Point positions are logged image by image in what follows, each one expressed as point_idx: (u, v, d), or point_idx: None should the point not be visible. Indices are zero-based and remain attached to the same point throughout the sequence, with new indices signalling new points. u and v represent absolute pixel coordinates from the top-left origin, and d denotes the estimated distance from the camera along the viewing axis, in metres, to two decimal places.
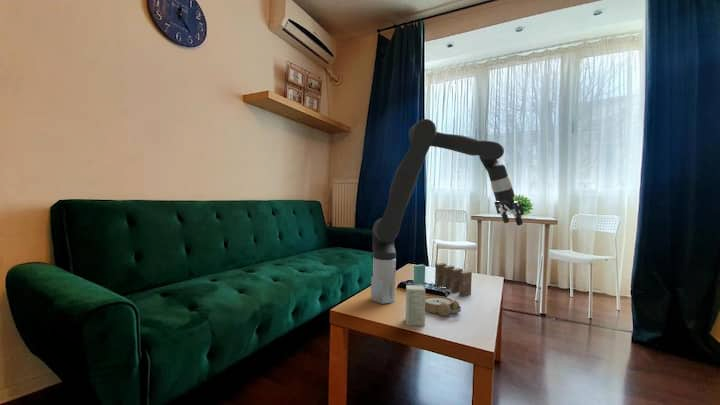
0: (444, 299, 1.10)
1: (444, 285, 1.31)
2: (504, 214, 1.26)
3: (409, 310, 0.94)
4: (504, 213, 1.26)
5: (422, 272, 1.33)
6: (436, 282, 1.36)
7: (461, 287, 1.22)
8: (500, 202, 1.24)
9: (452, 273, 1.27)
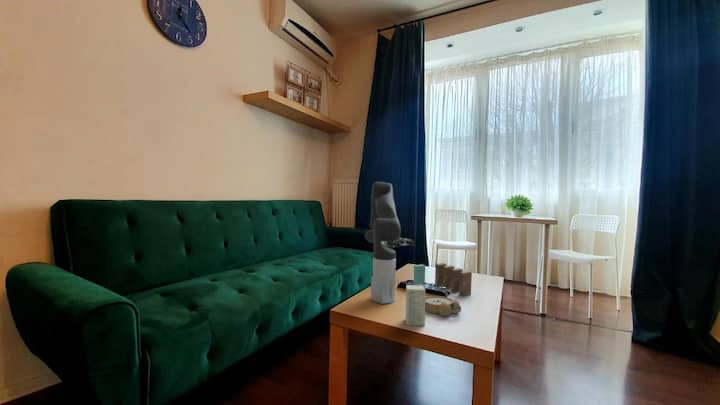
0: (444, 299, 1.10)
1: (444, 285, 1.31)
2: None
3: (409, 310, 0.94)
4: None
5: (422, 272, 1.33)
6: (436, 282, 1.36)
7: (461, 287, 1.22)
8: None
9: (452, 273, 1.27)
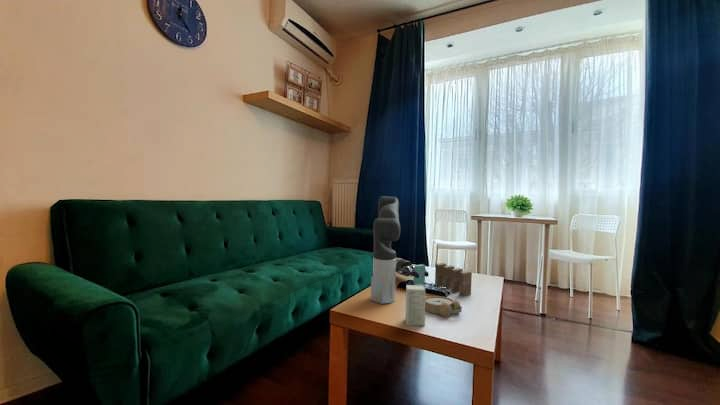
0: (445, 299, 1.10)
1: (444, 285, 1.31)
2: None
3: (409, 310, 0.94)
4: None
5: (422, 272, 1.33)
6: (436, 282, 1.36)
7: (461, 287, 1.22)
8: (404, 267, 1.39)
9: (452, 273, 1.27)
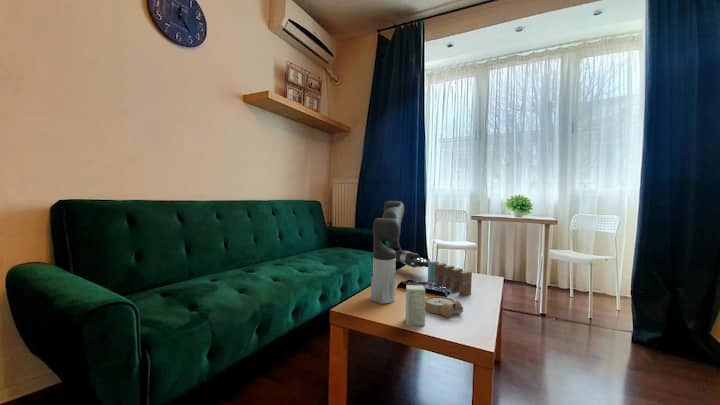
0: (446, 299, 1.09)
1: (444, 285, 1.31)
2: None
3: (409, 310, 0.94)
4: None
5: None
6: (436, 282, 1.36)
7: (461, 287, 1.22)
8: (412, 259, 1.50)
9: (452, 273, 1.27)
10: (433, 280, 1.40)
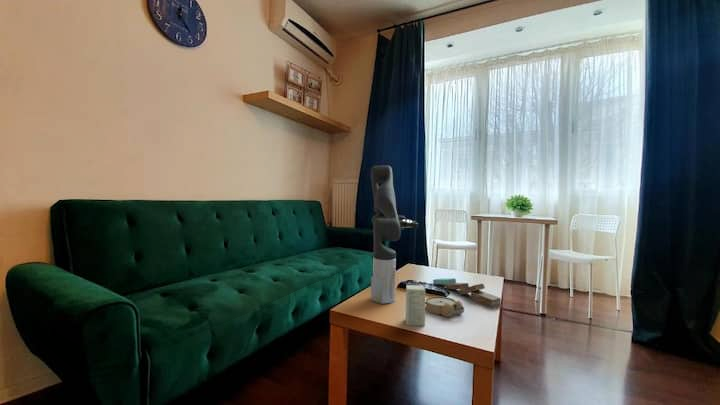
0: (447, 300, 1.09)
1: (461, 292, 1.22)
2: None
3: (409, 310, 0.94)
4: None
5: None
6: (446, 286, 1.30)
7: (477, 302, 1.15)
8: (398, 221, 1.46)
9: (488, 300, 1.10)
10: None
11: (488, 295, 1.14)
